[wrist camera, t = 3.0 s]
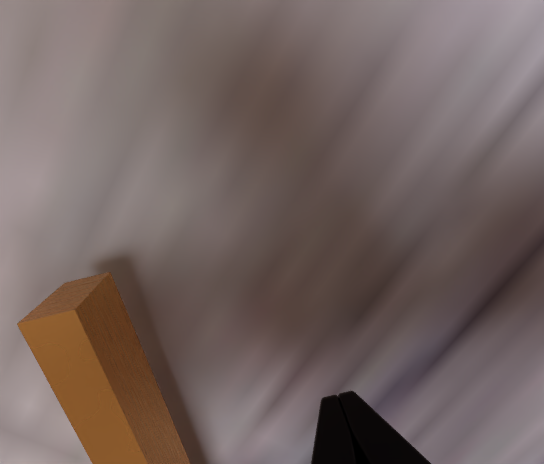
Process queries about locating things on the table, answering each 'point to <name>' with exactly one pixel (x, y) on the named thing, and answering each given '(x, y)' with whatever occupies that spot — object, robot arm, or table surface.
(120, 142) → the table surface
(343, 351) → the table surface
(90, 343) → the orange bar
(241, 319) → the table surface
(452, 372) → the table surface
